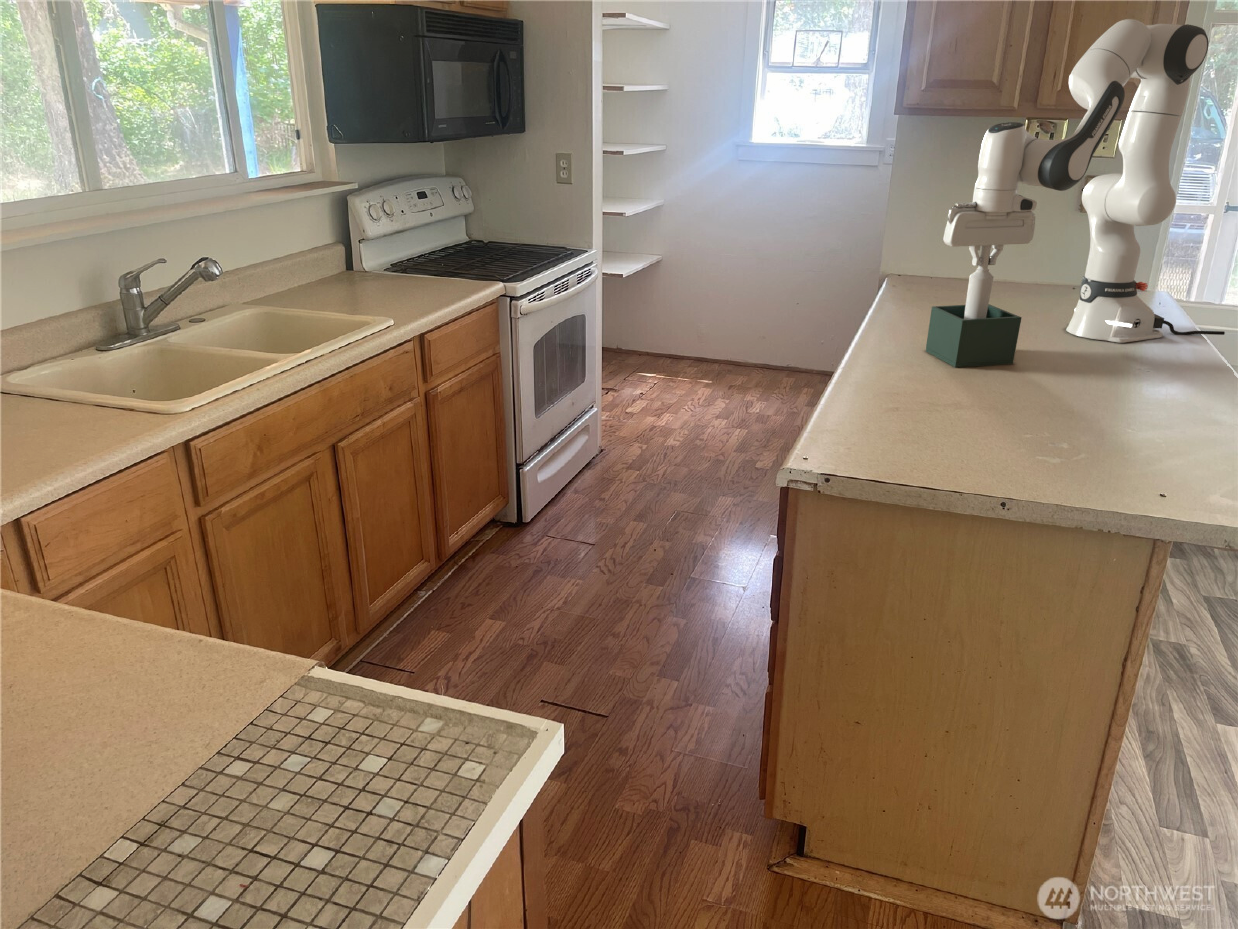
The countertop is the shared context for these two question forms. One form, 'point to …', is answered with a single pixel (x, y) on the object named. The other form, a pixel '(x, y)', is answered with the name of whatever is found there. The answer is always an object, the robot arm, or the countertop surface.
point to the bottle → (979, 288)
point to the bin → (972, 336)
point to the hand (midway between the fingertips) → (983, 264)
